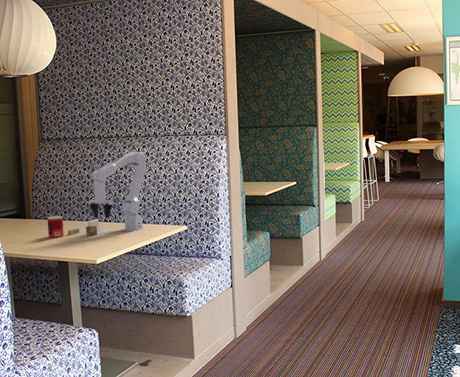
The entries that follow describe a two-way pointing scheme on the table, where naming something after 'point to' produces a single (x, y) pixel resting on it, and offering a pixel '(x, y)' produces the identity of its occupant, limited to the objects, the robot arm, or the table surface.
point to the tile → (94, 224)
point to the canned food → (55, 227)
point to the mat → (83, 233)
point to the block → (91, 230)
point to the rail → (73, 231)
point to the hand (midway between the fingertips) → (101, 217)
